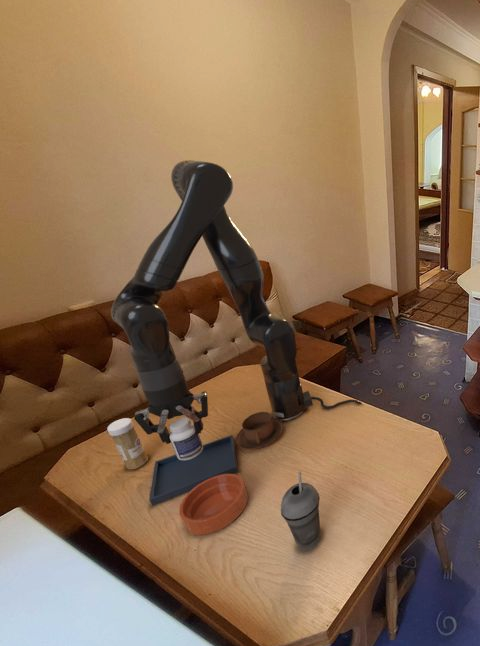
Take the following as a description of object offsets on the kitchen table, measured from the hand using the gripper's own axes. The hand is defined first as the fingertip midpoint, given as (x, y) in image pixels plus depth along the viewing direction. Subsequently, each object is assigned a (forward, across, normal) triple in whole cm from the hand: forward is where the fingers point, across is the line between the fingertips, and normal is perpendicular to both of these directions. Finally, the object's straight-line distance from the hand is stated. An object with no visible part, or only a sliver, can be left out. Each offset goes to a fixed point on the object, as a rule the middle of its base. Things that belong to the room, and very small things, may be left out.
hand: (184, 436), depth 88 cm
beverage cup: (+12, +20, -35) cm, 42 cm away
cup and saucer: (+12, +15, +4) cm, 19 cm away
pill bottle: (+6, 0, 0) cm, 6 cm away
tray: (+11, 0, 0) cm, 11 cm away
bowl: (+11, +4, -16) cm, 20 cm away
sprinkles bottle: (+12, -13, +11) cm, 21 cm away
